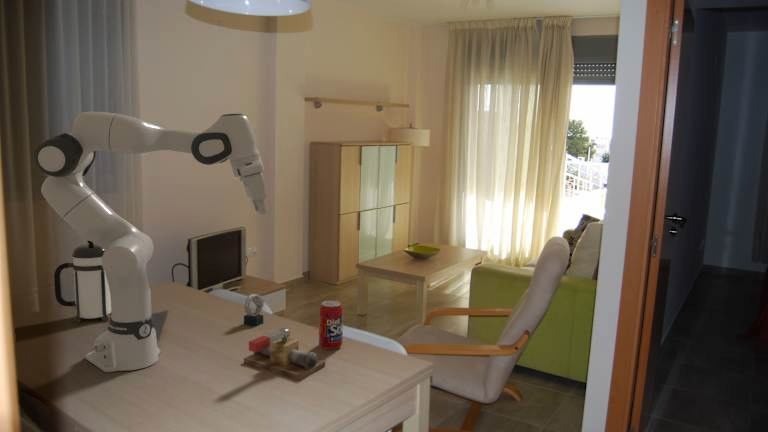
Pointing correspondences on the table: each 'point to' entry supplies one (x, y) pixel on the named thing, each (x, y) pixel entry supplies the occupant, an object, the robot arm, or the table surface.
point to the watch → (255, 317)
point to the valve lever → (268, 340)
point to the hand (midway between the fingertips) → (261, 212)
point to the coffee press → (87, 283)
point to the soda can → (330, 324)
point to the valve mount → (286, 359)
